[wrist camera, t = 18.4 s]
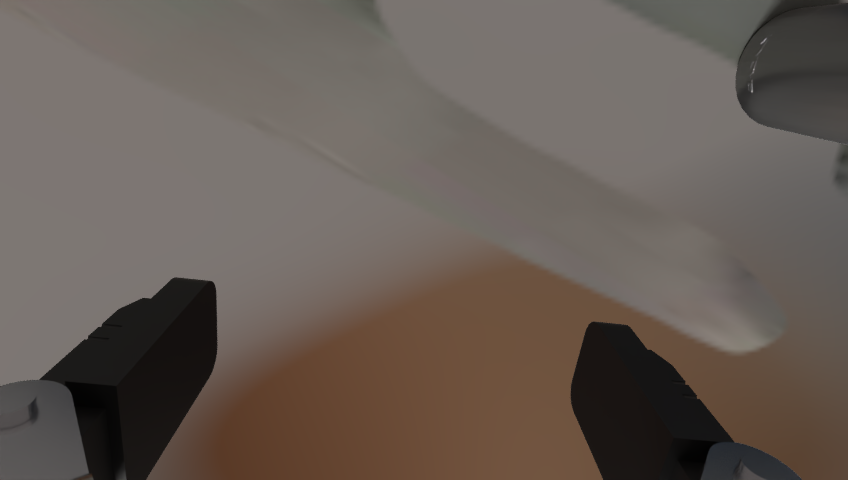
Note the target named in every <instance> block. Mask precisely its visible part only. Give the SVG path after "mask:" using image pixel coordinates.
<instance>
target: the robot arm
mask: <svg viewBox="0 0 848 480" xmlns="http://www.w3.org/2000/svg"><path fill="white" fill-rule="evenodd" d="M736 92H737V97H738V100H739V103H740V105H741V107H742V109H743V110H744V111H745V113H747V115H748V116H749V117H750V118H751V119H753V120H754V121H756V122H757V123H759V124H761V125H764V126H767V127H771V128H775V129H780V130H784V131H789V132H793V133H798V134H801V135H805V136H810V137H815V138H819V139H824V140H828V141H833V142H837V143H841V144H846V145H848V3H841V4H832V5H823V6H814V7H804V8H797V9H794V10H790V11H787V12H784V13H782V14H781V15H779V16H777V17H775V18H773V19H772V20H770V21H769V22H768V23H766V24H765V25H764V26H763V27H761V28H760V30H759V31H758V32H757V33H756V34H755V35H754V36H753V37H752V38H751V40H750V42H749V43H748V45H747V46H746V48H745V49H744V51H743V54H742V56H741V58H740V61H739V63H738V68H737V72H736ZM216 355H217V305H216V288H215V284H214V283H213V282H212V281H205V280H196V279H185V278H173V279H171V280H170V281H169V282H168V283H167V284H166V285H165V286H164V287H163V288H162V289H161V290H160V291H159V292H158V293H157V294H156V295H154V296H153V297H152V298H151V299H149V298H142V299H140V300H138V301H135V302H133V303H131V304H129V305H127V306H125V307H122V308H120V309H119V310H117V311H116V312H115V313H114V314H113V315H112V316H110V317H109V318H108V319H107V320H106V321H105V322H104V323H103V324H102V327H98V328H97V329H96V330H95V331H94V332H93V333H91V334H90V335H89V336H88V339H87V340H83V341H82V342H81V343H80V344H79V345H78V346H77V347H75V348H74V349H73V350H72V351H71V352H70V353H69V354H68V355H66V356H65V357H64V358H63V359H62V360H61V361H60V362H59V363H57V364H56V365H55V366H54V367H53V368H52V369H51V370H49V371H48V372H47V373H46V374H45V375H44V376H43V377H42V378H41V379H39V380H27V381H20V382H14V383H9V384H6V385H2V386H0V480H146V479H147V477H148V475H149V474H150V472H151V470H152V469H153V467H154V466H155V464H156V463H157V461H158V459H159V458H160V456H161V455H162V453H163V451H164V450H165V448H166V446H167V445H168V443H169V442H170V440H171V438H172V437H173V435H174V433H175V432H176V430H177V429H178V427H179V425H180V424H181V422H182V420H183V419H184V417H185V416H186V414H187V413H188V411H189V409H190V408H191V406H192V405H193V403H194V401H195V400H196V398H197V397H198V395H199V393H200V392H201V390H202V388H203V387H204V385H205V384H206V382H207V380H208V379H209V377H210V375H211V373H212V371H213V368H214V364H215V361H216ZM571 404H572V408H573V411H574V414H575V416H576V418H577V421H578V423H579V425H580V427H581V430H582V432H583V434H584V437H585V439H586V441H587V443H588V445H589V448H590V450H591V453H592V455H593V457H594V459H595V462H596V464H597V466H598V468H599V471H600V473H601V475H602V478H603V480H802V479H801V478H800V477H799V476H798V475H797V474H796V473H795V472H794V471H793V470H791V469H790V468H789V467H788V466H787V465H785V464H784V463H782V462H781V461H779V460H778V459H776V458H775V457H773V456H771V455H769V454H767V453H765V452H763V451H761V450H758V449H756V448H754V447H751V446H748V445H745V444H740V443H735V442H734V441H733V440H732V438H731V437H730V436H729V435H728V433H727V432H726V431H725V430H724V428H723V427H722V426H721V425H720V424H719V423H718V421H717V420H716V419H715V417H714V416H713V415H712V414H711V412H710V411H709V410H708V409H707V408H706V406H705V405H704V404H703V403H702V401H701V400H700V399H697V395H696V394H695V393H694V392H693V390H692V389H691V388H690V387H689V385H685V380H683V378H682V377H681V376H680V374H679V373H678V372H677V371H676V369H675V368H674V367H673V366H672V365H671V364H670V363H668V362H667V361H666V360H664V359H663V358H661V357H660V356H659V355H657V354H656V353H655V352H653V351H652V350H647V348H646V347H645V346H644V345H643V343H642V342H641V341H640V339H639V338H638V337H637V336H636V334H635V333H634V332H633V330H632V329H631V328H630V327H629V326H628V325H622V324H612V323H603V322H591V323H590V324H589V325H588V327H587V329H586V332H585V335H584V339H583V343H582V347H581V350H580V354H579V357H578V361H577V365H576V368H575V372H574V376H573V380H572V384H571Z"/></svg>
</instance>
